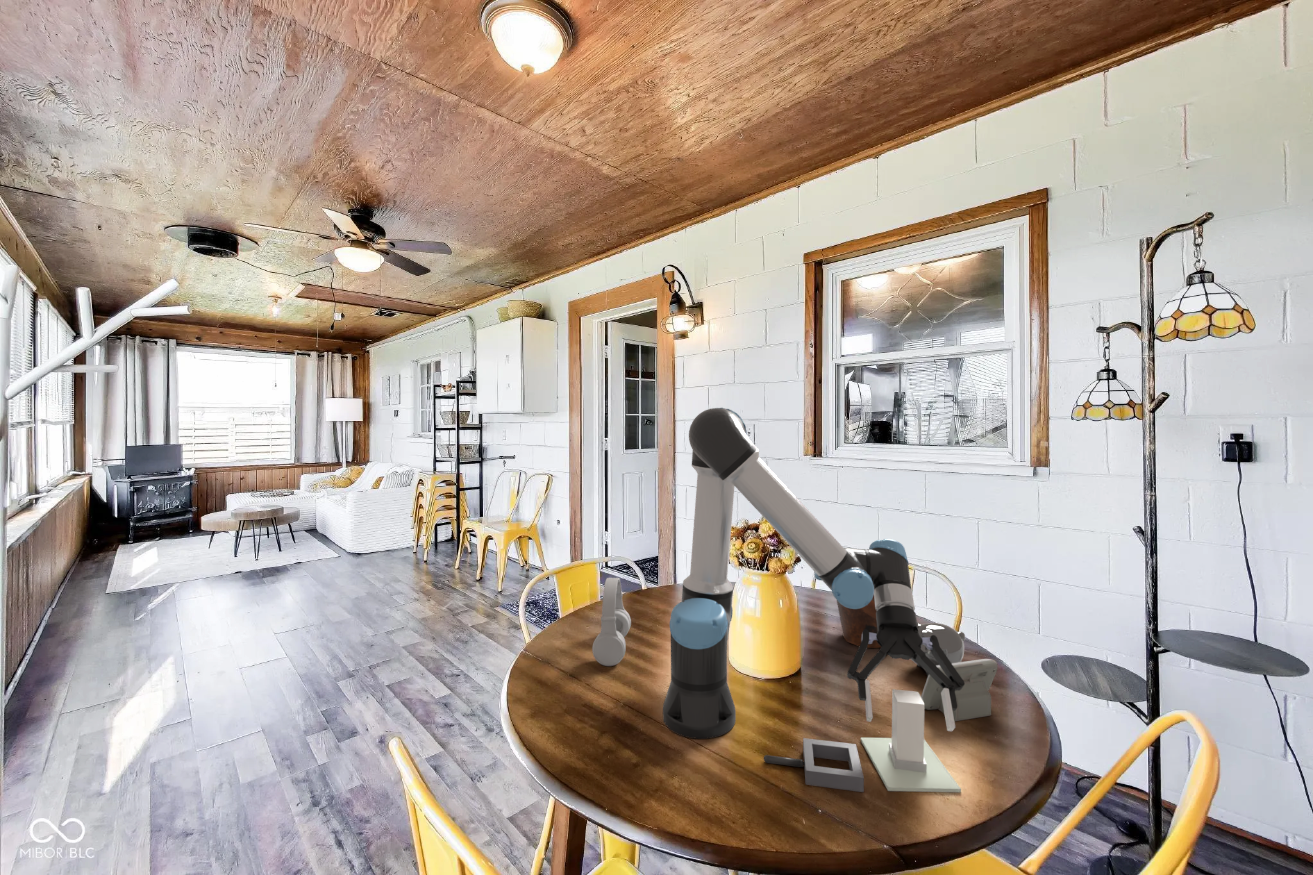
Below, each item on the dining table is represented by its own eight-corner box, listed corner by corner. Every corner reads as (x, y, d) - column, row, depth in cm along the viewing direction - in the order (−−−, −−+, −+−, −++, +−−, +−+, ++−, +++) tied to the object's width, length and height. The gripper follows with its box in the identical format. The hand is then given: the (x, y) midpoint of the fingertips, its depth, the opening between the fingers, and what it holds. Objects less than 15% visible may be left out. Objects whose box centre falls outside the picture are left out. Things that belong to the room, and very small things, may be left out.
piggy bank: (892, 660, 139) (893, 616, 139) (951, 659, 139) (952, 615, 139) (913, 682, 128) (914, 634, 128) (977, 681, 128) (978, 633, 127)
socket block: (762, 778, 95) (762, 764, 95) (764, 746, 104) (764, 733, 104) (863, 792, 92) (863, 777, 92) (855, 757, 101) (855, 744, 101)
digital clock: (983, 697, 121) (984, 650, 121) (1010, 720, 112) (1011, 669, 112) (911, 699, 121) (911, 652, 120) (932, 722, 112) (933, 671, 111)
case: (832, 649, 145) (833, 583, 145) (832, 622, 164) (834, 563, 163) (905, 660, 140) (907, 591, 139) (897, 630, 159) (899, 569, 158)
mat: (888, 790, 92) (888, 787, 92) (860, 740, 106) (860, 737, 106) (960, 792, 91) (961, 788, 91) (923, 741, 105) (923, 738, 105)
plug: (894, 768, 97) (895, 702, 96) (888, 750, 102) (889, 687, 101) (926, 772, 96) (927, 705, 95) (918, 754, 101) (919, 690, 100)
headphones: (625, 667, 137) (624, 591, 136) (591, 667, 137) (590, 591, 136) (631, 634, 157) (630, 568, 156) (602, 634, 157) (601, 568, 156)
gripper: (957, 624, 112) (981, 738, 98) (830, 614, 117) (835, 721, 104) (967, 608, 106) (993, 727, 93) (832, 598, 112) (838, 709, 98)
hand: (909, 724), depth 98 cm, fingers open, 13 cm apart
